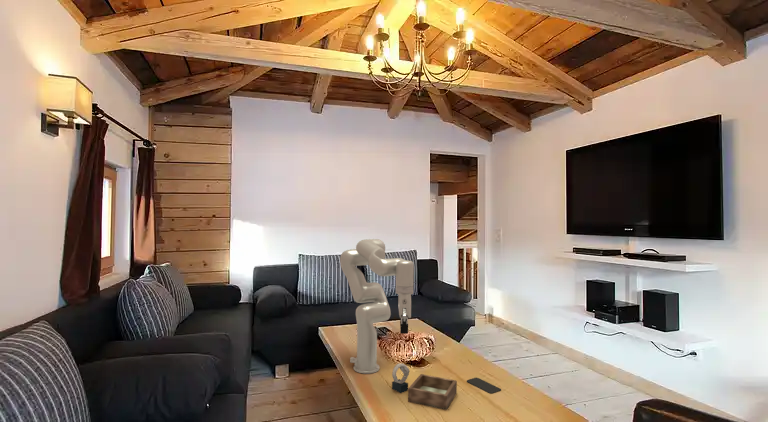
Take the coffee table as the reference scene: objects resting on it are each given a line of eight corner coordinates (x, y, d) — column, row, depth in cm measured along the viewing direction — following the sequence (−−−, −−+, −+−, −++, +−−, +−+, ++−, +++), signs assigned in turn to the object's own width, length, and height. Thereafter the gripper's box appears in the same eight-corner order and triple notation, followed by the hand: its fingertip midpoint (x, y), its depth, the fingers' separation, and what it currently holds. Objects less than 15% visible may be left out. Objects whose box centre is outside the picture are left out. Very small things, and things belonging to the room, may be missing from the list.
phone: (490, 393, 176) (465, 380, 189) (490, 395, 176) (465, 382, 189) (502, 389, 180) (476, 377, 193) (502, 391, 180) (476, 378, 193)
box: (408, 401, 168) (408, 388, 168) (420, 386, 183) (420, 373, 183) (446, 410, 162) (446, 396, 162) (456, 393, 176) (456, 380, 176)
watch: (411, 389, 180) (411, 363, 180) (397, 394, 174) (398, 368, 174) (402, 384, 184) (402, 360, 184) (388, 389, 179) (389, 364, 178)
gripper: (414, 293, 167) (413, 336, 167) (412, 286, 185) (412, 324, 185) (395, 293, 168) (395, 335, 168) (395, 285, 185) (395, 324, 185)
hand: (404, 330), depth 176 cm, fingers open, 9 cm apart
